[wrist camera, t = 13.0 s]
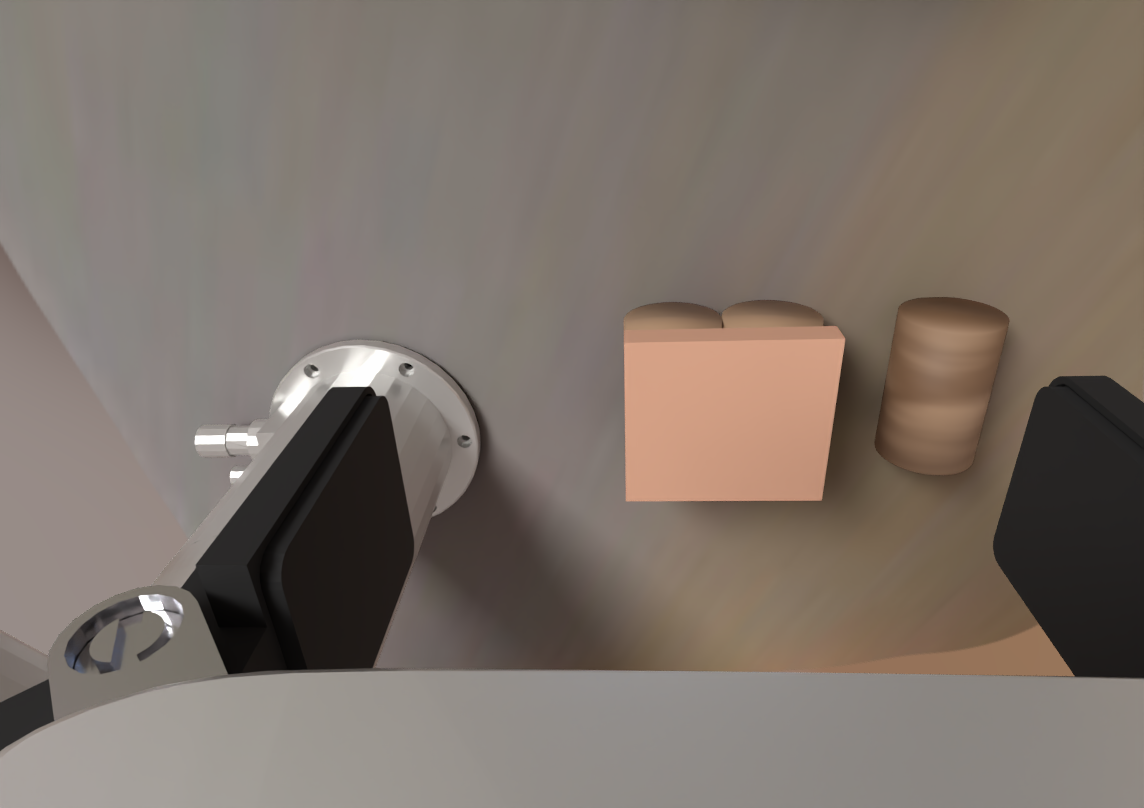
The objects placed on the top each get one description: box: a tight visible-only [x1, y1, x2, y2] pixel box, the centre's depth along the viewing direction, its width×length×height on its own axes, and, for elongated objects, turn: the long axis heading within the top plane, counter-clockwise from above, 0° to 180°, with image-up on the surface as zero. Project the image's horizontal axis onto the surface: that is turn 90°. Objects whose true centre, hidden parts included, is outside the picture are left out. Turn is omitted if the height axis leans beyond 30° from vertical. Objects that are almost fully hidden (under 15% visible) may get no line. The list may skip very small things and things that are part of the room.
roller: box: [875, 297, 1009, 475], centre depth 38 cm, size 8×5×5 cm, turn 3°
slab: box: [624, 300, 845, 501], centre depth 38 cm, size 10×9×6 cm
